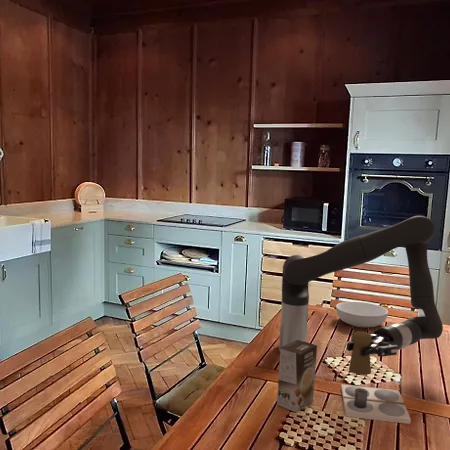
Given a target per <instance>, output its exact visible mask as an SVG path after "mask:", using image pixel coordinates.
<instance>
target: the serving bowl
mask: <svg viewBox="0 0 450 450" xmlns="http://www.w3.org/2000/svg"><path fill="white" fill-rule="evenodd" d="M335 309H336V314H337V316H338V318H339V319H340V320H341V321H343V322H344V323H346V324H347V325H351V326H354V327H357V328H363V329H365V328H371V327H372V328H373V327H378V326H380V325H382V324H383V323H384V322H385V321H386V320H387V319H388V315H389V311H388V309H387V308H385V307H383V306H381V305H377V304H376V303H375V304H374V303H370V302H364V301H344V302H339V303H337V304H336V305H335Z"/></svg>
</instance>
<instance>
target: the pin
mask: <svg viewBox="0 0 450 450" xmlns="http://www.w3.org/2000/svg"><path fill="white" fill-rule="evenodd" d="M367 394H368V392H367V391H366V390H365V389H361V388H358V389H355V398H354V406H355V407H357V408H362V409H363V408H366V407H367Z"/></svg>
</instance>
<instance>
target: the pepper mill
mask: <svg viewBox="0 0 450 450" xmlns="http://www.w3.org/2000/svg"><path fill="white" fill-rule="evenodd" d="M351 337H352V341H353V343H354V345H353V350H351V355H350V361H349V365H348V366H349V367H348V370H349V371H350V373H352V374H354V375H360V376H368V375H371V373H372V367H371V357H370V356H371V354H370V355H367V356H364V357H362V356H360V350H361V348H364V347H367V346H369V345H370V344H371V336H370V333H369V332H366V331H361V330H358V331H354V332H353V333H352V336H351ZM349 371H348V372H349Z"/></svg>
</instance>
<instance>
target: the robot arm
mask: <svg viewBox="0 0 450 450" xmlns="http://www.w3.org/2000/svg"><path fill="white" fill-rule="evenodd" d="M434 232H435V224H434V222H433V220H431V218H429V217H427V216H424V215H415V216H412V217H409V218H407V219H405V220H403V221H401V222H398V223H396V224H394V225H391V226H388V227H386V228H383V229H379V230H375V231H372V232H369V233H365V234H361V235H357V236H355V237H351V238H348V239H346V240H343V241H341V242H339V243H337V244H335V245H334V246H332V247H331V248H329V249H327V250H325V251H323V252H321V253H318V254H315V255H311V256H308V257H303V256H302V255H298V254H294V255H290V256H289V257H287V258H286V259H285V261H284V262H283V265H282V275H281V276H282V278H281V311H280V312H281V313H280V324H279V339H278V340H279V341H278V342H279V343H278V345H279V346H278V352H280V348H281V347H283V346H286V345H288V344H290V343H292V342H294V341H297V340H300V341H303V342H307V337H308V336H307V335H308V320H309V319H308V318H309V303H310V302H309V301H310V293H309V283H310V282H312V281H314V280H318V279H319V278H321V277H324V276H325V275H329V274H332V273H336V272H339V271H343V270H347V269H349V268H353V267H356V266H360V265H362V264H363V265H364V264H366V263H369V262H372V261H373V260H376V259H377V258H379V257H381V256H384V255H385V254H387V253H388V252H390V251H393V250H395V249H398V248H400V247H404V248H405V252H406V257H407V264H408V277H409V278H408V279H409V292H410V304H411V307H412V308H413V309H416V310H422V312H423V313H424V315H422V316H412V317H409V318H407V319H406V320H404V321H401V322H398V323H397V322H396V323H392V324H388V325H385V326H382V327H378V328H376V329H375V330H374V332H373V333H372V334H370V333H369V334H370V336H371V344H370V345H369V346H367V347H364V348H361V350H360V356H362V357H364V356H367V355H370V356H375V355H377V357H379V358H380V357H389V356H396V355H398V351H400V350H402V349H404V348H406V347H408V346H411V345H414V344H416V343H418V342H419V341H420V340H425V339H426V340H431V339H433V340H435V339H438V338H440V336H441V335H442V334H443V330H444V325H443V322H442V319H441V317H440V314H439V310H438V308H437V305H436V302H435V294H434V293H435V292H434V291H435V289H434V283H433V278H432V274H431V271H430V265H429V262H428V246H429V241H430V240H431V239H432V238H433V236H434ZM441 337H442V336H441ZM350 340H351V341H350V342H347V343H346V350H347V351H349V352H352V350H353V345H354V343H353V341H352V336H351V339H350Z"/></svg>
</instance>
